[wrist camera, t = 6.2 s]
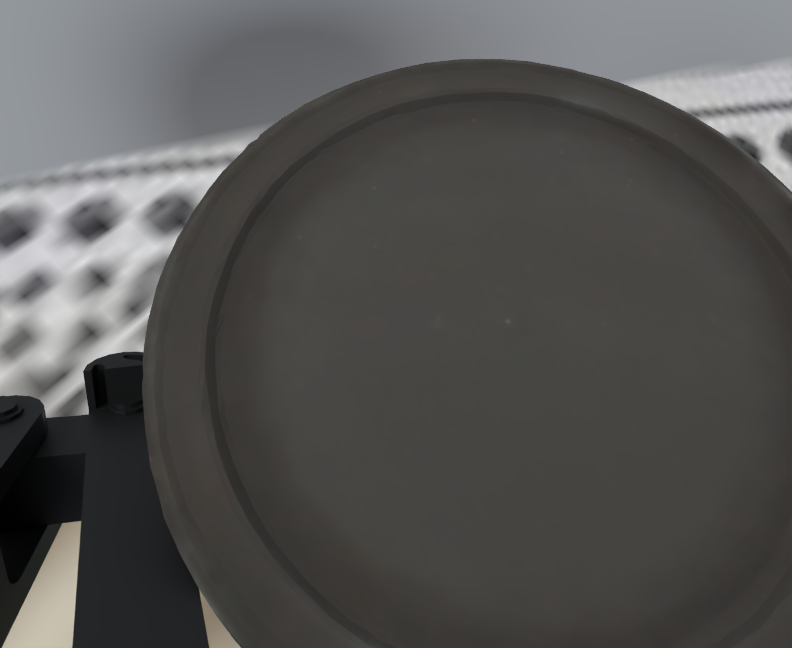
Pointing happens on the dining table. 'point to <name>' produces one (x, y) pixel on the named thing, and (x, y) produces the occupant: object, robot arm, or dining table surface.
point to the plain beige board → (73, 601)
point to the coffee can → (481, 373)
